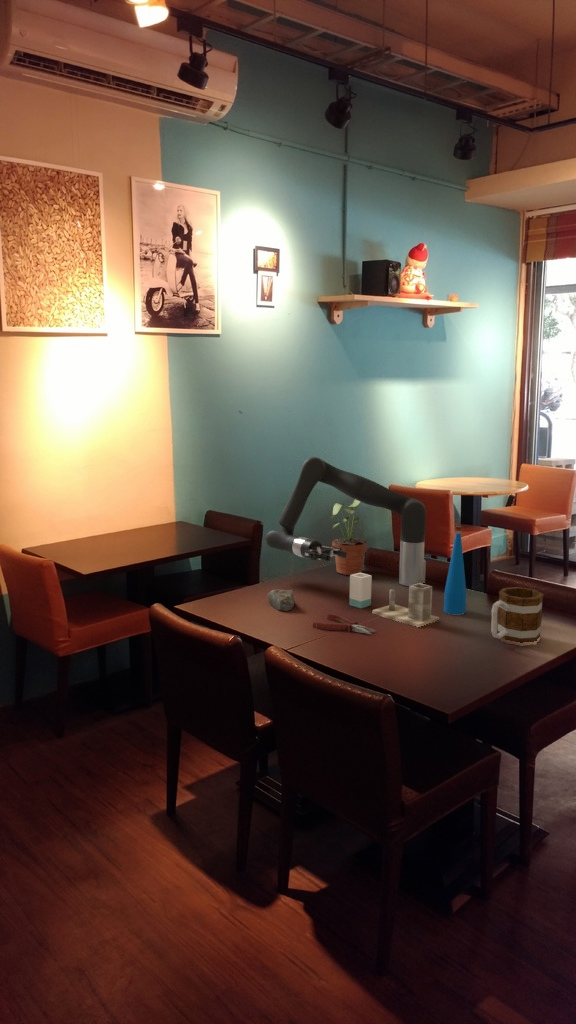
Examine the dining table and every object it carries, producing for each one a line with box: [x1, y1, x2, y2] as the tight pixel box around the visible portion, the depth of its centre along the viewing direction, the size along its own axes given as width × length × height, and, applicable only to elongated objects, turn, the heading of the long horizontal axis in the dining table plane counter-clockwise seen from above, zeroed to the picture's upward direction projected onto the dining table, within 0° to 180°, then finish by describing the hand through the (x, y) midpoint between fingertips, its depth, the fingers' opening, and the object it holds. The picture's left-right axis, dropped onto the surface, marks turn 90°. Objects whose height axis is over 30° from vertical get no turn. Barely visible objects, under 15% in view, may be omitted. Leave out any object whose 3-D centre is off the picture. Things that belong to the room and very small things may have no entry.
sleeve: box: [348, 572, 373, 609], centre depth 278 cm, size 5×5×11 cm
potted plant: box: [329, 499, 368, 576], centre depth 320 cm, size 16×15×35 cm
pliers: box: [312, 613, 377, 635], centre depth 254 cm, size 12×20×3 cm, turn 55°
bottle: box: [443, 525, 467, 614], centre depth 270 cm, size 7×7×30 cm
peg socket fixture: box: [371, 583, 440, 628], centre depth 265 cm, size 20×11×12 cm, turn 43°
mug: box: [490, 586, 545, 643], centre depth 243 cm, size 20×14×15 cm
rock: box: [267, 588, 296, 612], centre depth 278 cm, size 13×9×6 cm, turn 24°
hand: (337, 556), depth 284 cm, fingers open, 8 cm apart
